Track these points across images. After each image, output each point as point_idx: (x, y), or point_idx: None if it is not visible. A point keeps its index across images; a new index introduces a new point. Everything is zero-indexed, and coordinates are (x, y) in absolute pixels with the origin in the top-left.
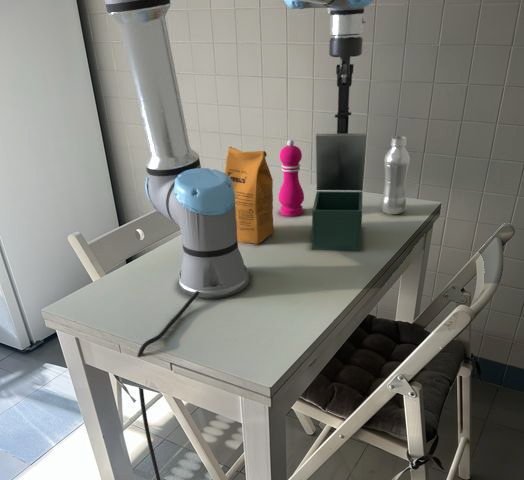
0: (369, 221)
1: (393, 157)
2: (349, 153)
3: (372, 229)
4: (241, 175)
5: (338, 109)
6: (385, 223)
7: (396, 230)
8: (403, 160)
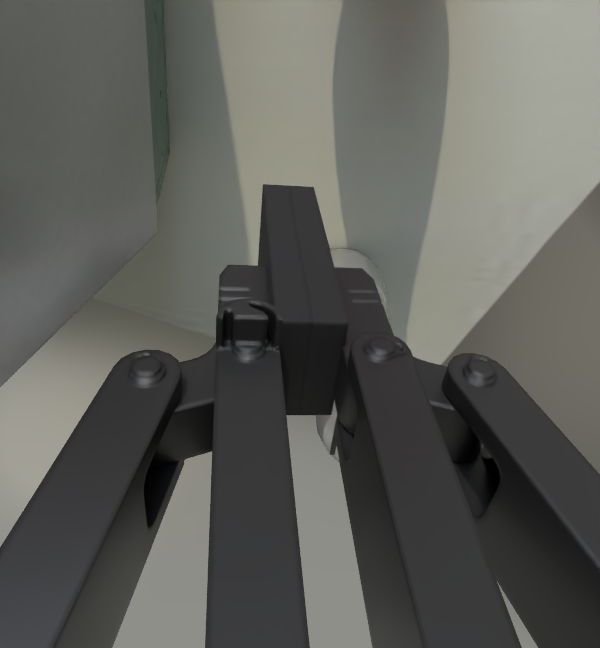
0: (249, 192)
1: (332, 419)
2: None
3: (162, 198)
4: None
5: (84, 419)
6: (228, 246)
7: (160, 274)
8: (322, 441)
